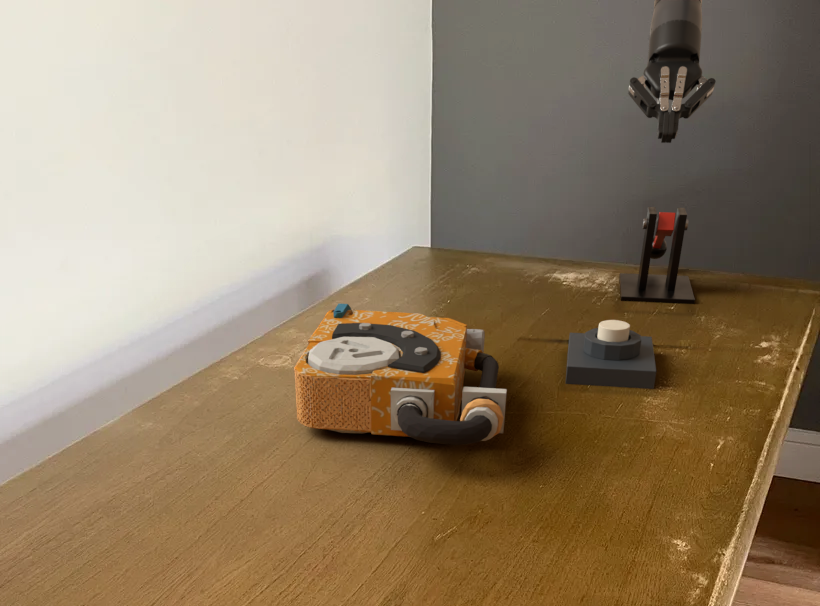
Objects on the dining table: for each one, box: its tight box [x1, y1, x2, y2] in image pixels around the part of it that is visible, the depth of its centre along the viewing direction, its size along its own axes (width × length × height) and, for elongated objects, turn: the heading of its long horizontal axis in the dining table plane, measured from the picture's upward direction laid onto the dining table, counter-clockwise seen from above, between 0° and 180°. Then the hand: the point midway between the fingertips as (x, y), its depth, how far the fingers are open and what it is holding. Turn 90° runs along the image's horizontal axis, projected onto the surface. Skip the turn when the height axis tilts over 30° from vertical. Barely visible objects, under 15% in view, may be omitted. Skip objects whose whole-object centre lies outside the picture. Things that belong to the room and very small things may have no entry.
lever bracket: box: [618, 206, 696, 305], centre depth 136 cm, size 12×10×12 cm
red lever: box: [650, 211, 677, 260], centre depth 139 cm, size 14×3×3 cm, turn 169°
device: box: [293, 302, 508, 446], centre depth 103 cm, size 23×8×30 cm
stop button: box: [597, 319, 631, 342], centre depth 113 cm, size 4×4×2 cm
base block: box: [565, 327, 657, 390], centre depth 114 cm, size 12×10×4 cm
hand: (667, 139), depth 141 cm, fingers closed
